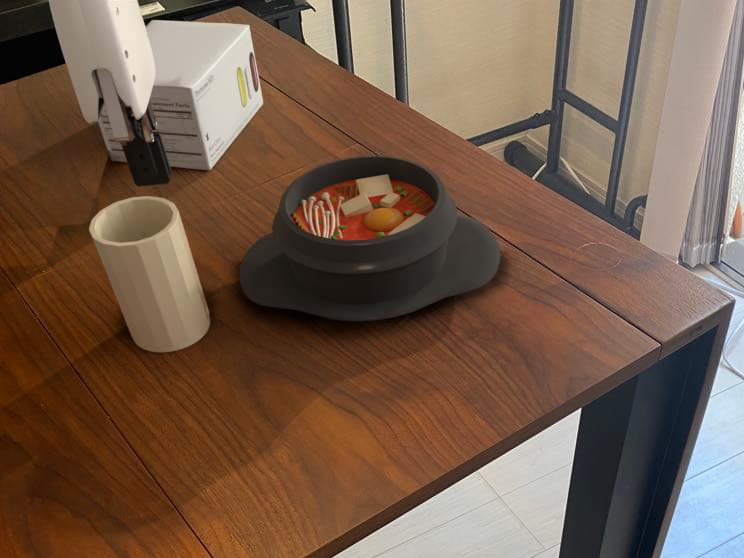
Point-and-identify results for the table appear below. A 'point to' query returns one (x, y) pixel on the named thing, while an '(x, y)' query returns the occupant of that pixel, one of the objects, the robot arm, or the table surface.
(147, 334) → the cup
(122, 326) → the table surface
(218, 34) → the supplement box
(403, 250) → the casserole
